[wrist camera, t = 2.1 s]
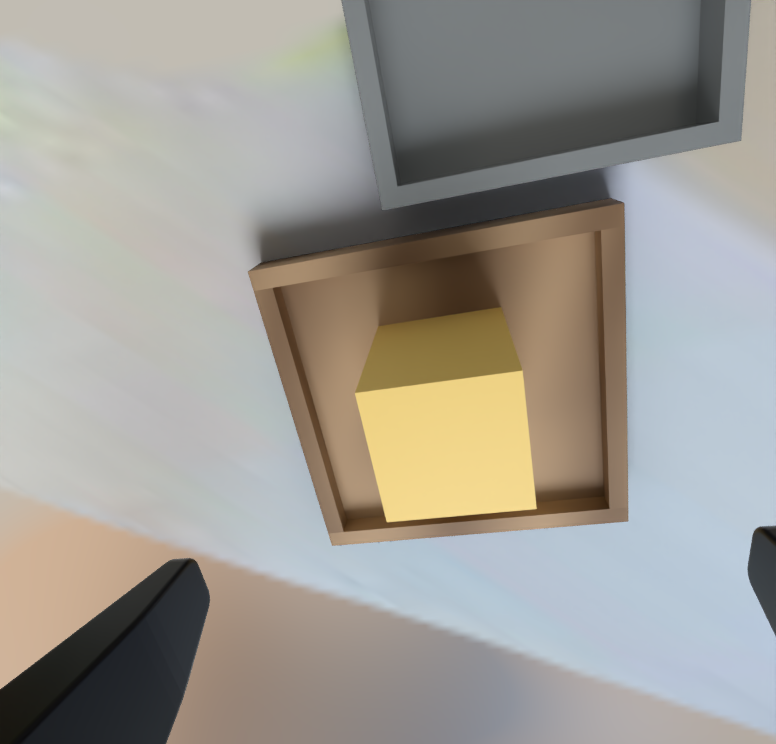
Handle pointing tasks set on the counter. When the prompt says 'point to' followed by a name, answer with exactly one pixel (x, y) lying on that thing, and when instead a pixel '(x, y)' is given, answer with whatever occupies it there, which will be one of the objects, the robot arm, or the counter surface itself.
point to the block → (447, 418)
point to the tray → (454, 296)
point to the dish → (540, 87)
